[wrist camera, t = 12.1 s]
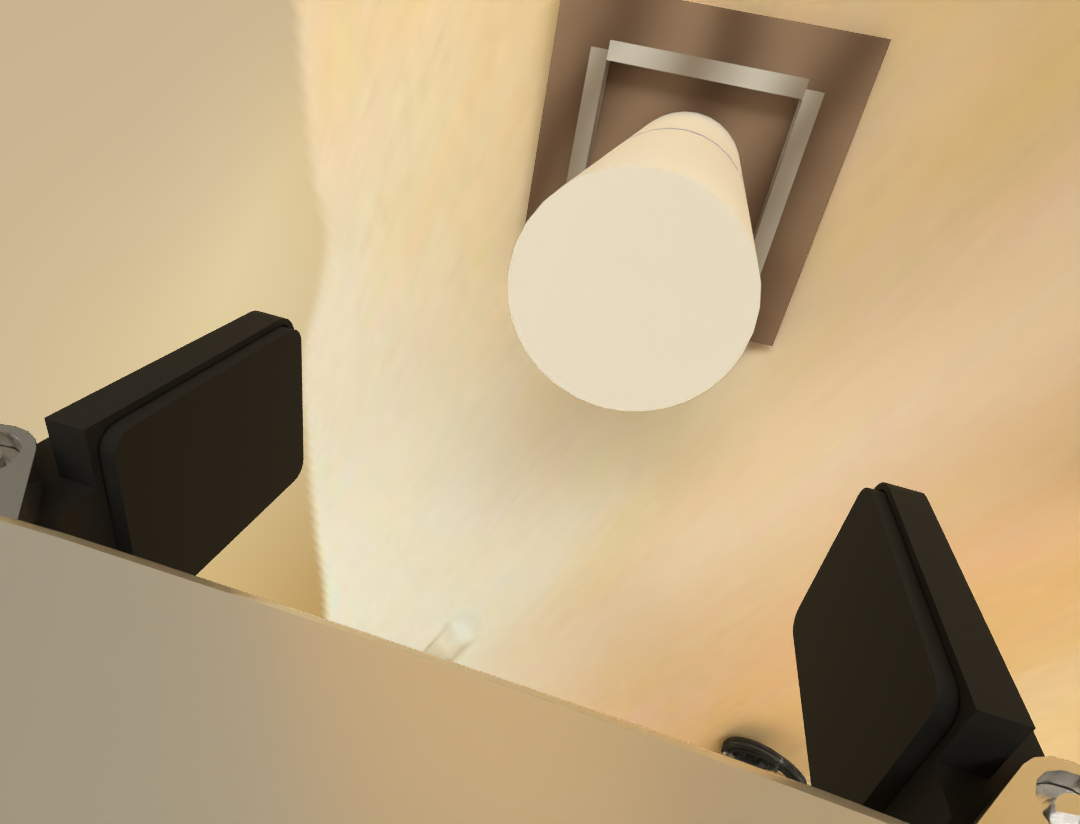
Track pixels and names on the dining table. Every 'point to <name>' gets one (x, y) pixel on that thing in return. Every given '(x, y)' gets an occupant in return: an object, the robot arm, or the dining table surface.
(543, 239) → the cylindrical container
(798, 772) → the milk frother
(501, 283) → the dining table surface
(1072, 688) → the dining table surface
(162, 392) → the robot arm
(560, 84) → the mount board
